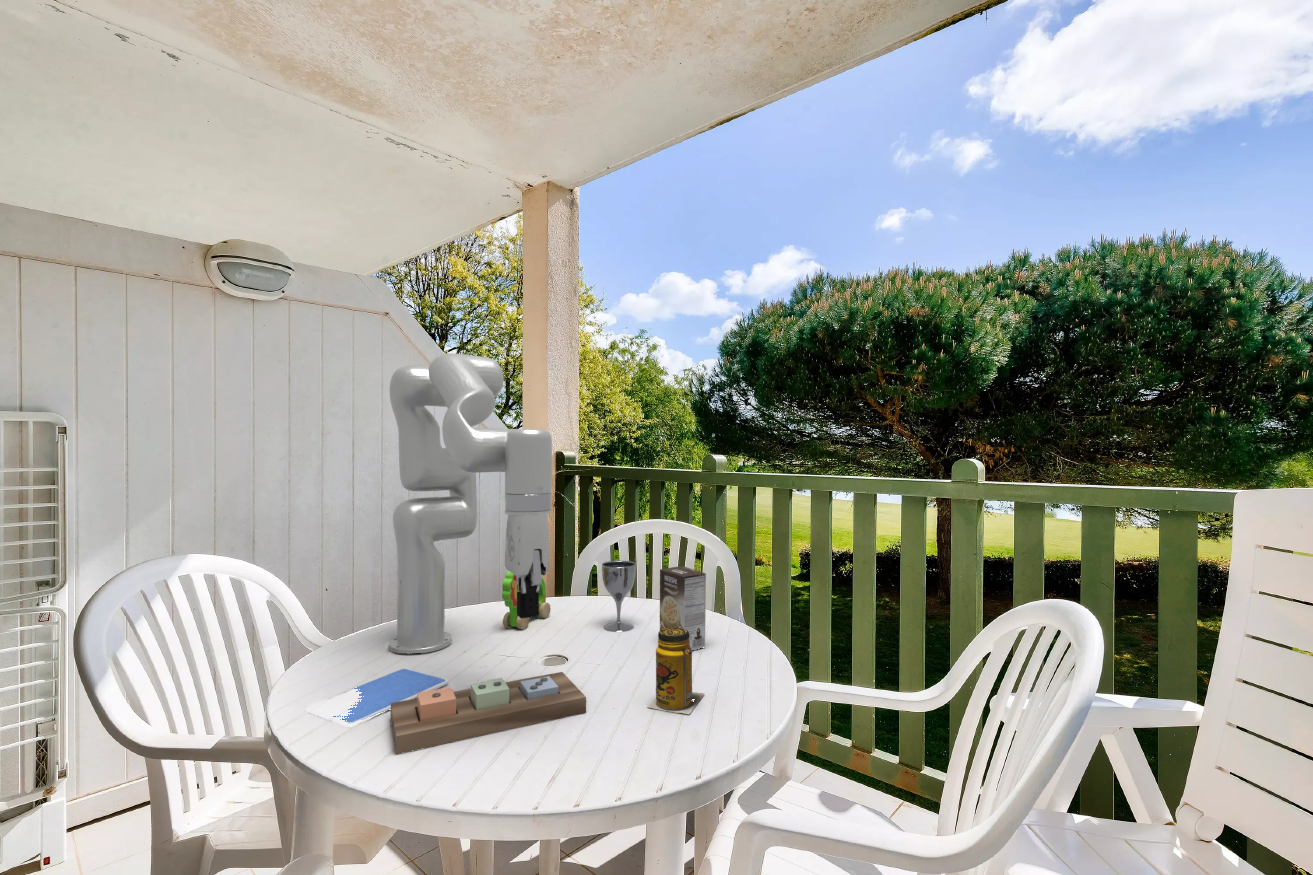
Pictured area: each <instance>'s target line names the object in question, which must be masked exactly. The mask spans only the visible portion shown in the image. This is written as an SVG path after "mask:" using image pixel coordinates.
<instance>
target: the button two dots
mask: <svg viewBox="0 0 1313 875" xmlns="http://www.w3.org/2000/svg"><path fill="white" fill-rule="evenodd" d="M505 682H506V681H505V680H504V678H503V677H499V678H494V679H488V680H483V681H477V682H471V683H470V689H471V703H472V706H473V708H474V710H480V709H485V708H490V707H495V706H500V705H505V704H509V687H508V686H507V684H506V683H505Z"/></svg>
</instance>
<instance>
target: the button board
mask: <svg viewBox="0 0 1313 875" xmlns="http://www.w3.org/2000/svg"><path fill="white" fill-rule="evenodd" d="M547 676H549V677H550V678H551V679H552V680H553V681H554V682H555V683H556V685H557V686H558V694H555V695H550V696H545V697H540V698H535V699H530V700H526V698H525V697H524V696H523V694H522V693H521V691H520V681H526V680H531V679H537V678H542V677H547ZM505 683H506V684H507V686H508V687H509V704H505V705H500V706H495V707H490V708H485V709H480V710H474V708H473V706H472V703H471V688H467V689H466V688H465V689H461V690H455V691H454V690H453V692H454V695H455V697H456V714H455V715H450V716H445V717H440V718H435V719H430V720H425V721H420V722H419V718H418V714H417V698H416V699H411V700H405V701H400V702H394V703H391V710H390V724H391V723H392V725H391V730H393V731H392V736H394V738H393V742H394V743H395V744H394V750H396V751H395V754H396V755H400V754H403V753H402V752H405V753H408V752H409V751H410V752H413V751H412V750H414V751H418V749H419V750H423V749H427V748H431V747H436V746H440V745H445V744H449V743H454V742H458V741H459V742H460V741H463V740H467V739H472V738H478V737H481V736H487V735H491V734H495V733H499V732H504V731H509V730H513V729H518V728H523V727H526V726H531V725H537V724H540V723H541V724H542V723H545V722H546V723H547V722H550V721H554V720H555V721H556V720H558V719H563V718H567V717H572V716H577V715H581V714H586V713H587V696H586V695H585V693H583V692H582V691H581V690H580V689H579V688H578V686H576V684H575V683H573V682H572V680H571V679H570V678H569V677H568V676H567V675H566V674H565V673H564V672H563V671H559V672H558V671H557V672H554V673H553V672H552V673H550V674H549V673H548V674H543V675H537V676H532V677H526V678H520V679H515V680H510V681H509V680H508V681H505ZM422 748H423V749H422ZM399 753H400V754H399Z"/></svg>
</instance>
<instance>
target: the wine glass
mask: <svg viewBox="0 0 1313 875" xmlns="http://www.w3.org/2000/svg"><path fill="white" fill-rule="evenodd" d="M636 569H637V568H636V562H634V561H629V560H609V561H604V562H603V563H602V564H601V577H602V582H603V585H604V586H603V587H604V588H605V590H606V591H607V592H608V594H609V595H610V596H611V597H612V599H613V600H614V602H615V606H616V622H611V623H607V624H605V625H603V629H604V630H605V631H607V632H614V633H615V632H616V633H617V632H618V633H621V632H622V633H623V632H628V631H630V630H633V629H634V628H635V626H634V625H633V624H632V623H628V622H622V621H621V612H622V605H623V604H622V603H623V600H624V599H625V598H626V596H627V595H629V593H630V591H632V589H633V587H634V584H635V580H636Z"/></svg>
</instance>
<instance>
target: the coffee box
mask: <svg viewBox="0 0 1313 875" xmlns="http://www.w3.org/2000/svg"><path fill="white" fill-rule="evenodd" d="M706 579H707V573H706V572H703V571H699V570H696V569H693V568H690V567H688V566H683V565H678V566H675V567H667V568H661V569H659V631H660V630H662V629H664V628H672V627H675V628H682V629H685V630H687V631H688V632H689V634H690V636H689V640H690V644H689V645H690V647H691V649H692V650H695V651H698V650H697V649H699V650H701V649H700V648H703V647H705V648H706V604H707V603H706V602H707V601H706V600H707V599H706V593H707V592H706V591H707V590H706V585H707V584H706V583H707V582H706V581H707V580H706ZM703 649H704V648H703Z"/></svg>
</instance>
